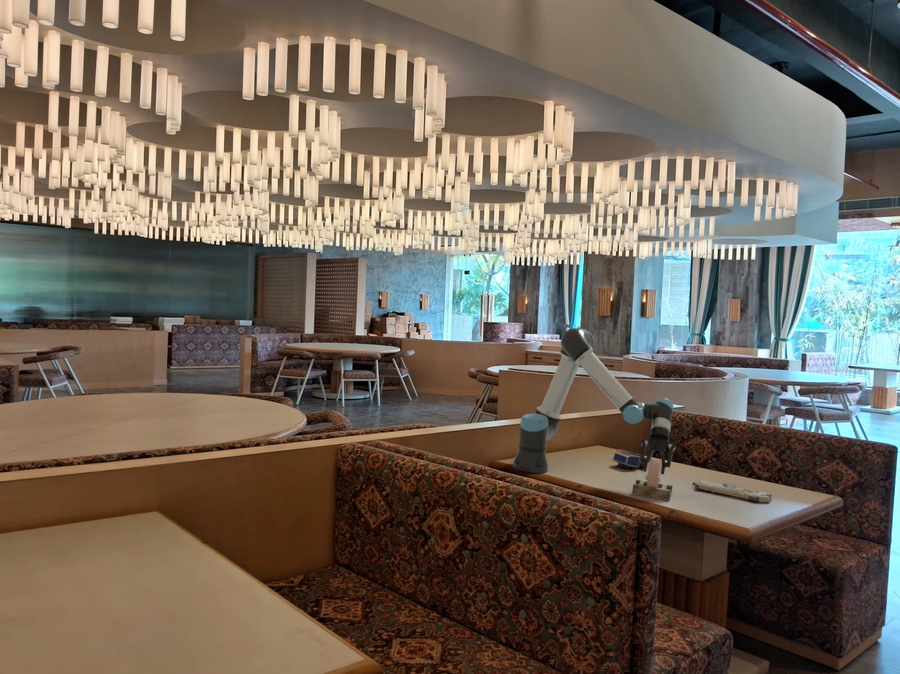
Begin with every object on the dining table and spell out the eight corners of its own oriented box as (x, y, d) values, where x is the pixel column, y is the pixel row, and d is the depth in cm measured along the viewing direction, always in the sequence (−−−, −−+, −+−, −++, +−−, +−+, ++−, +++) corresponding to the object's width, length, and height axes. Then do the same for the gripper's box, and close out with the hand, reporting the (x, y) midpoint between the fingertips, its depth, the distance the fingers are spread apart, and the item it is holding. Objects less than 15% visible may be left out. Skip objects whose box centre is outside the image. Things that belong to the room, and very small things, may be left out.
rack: (632, 494, 264) (632, 485, 264) (635, 487, 275) (636, 479, 275) (669, 500, 259) (670, 491, 259) (671, 493, 270) (672, 484, 270)
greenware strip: (646, 489, 265) (649, 461, 265) (647, 486, 270) (650, 459, 269) (657, 490, 264) (659, 463, 263) (658, 488, 268) (660, 460, 268)
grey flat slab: (701, 484, 297) (688, 489, 281) (702, 477, 297) (689, 481, 281) (776, 500, 280) (767, 506, 263) (777, 492, 280) (768, 498, 263)
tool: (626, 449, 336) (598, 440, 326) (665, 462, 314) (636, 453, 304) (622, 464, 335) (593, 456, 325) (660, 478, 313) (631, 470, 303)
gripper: (681, 439, 277) (675, 488, 263) (639, 434, 284) (630, 480, 269) (682, 428, 272) (675, 477, 258) (638, 422, 279) (630, 470, 264)
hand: (652, 478), depth 263 cm, fingers closed on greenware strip, 4 cm apart
